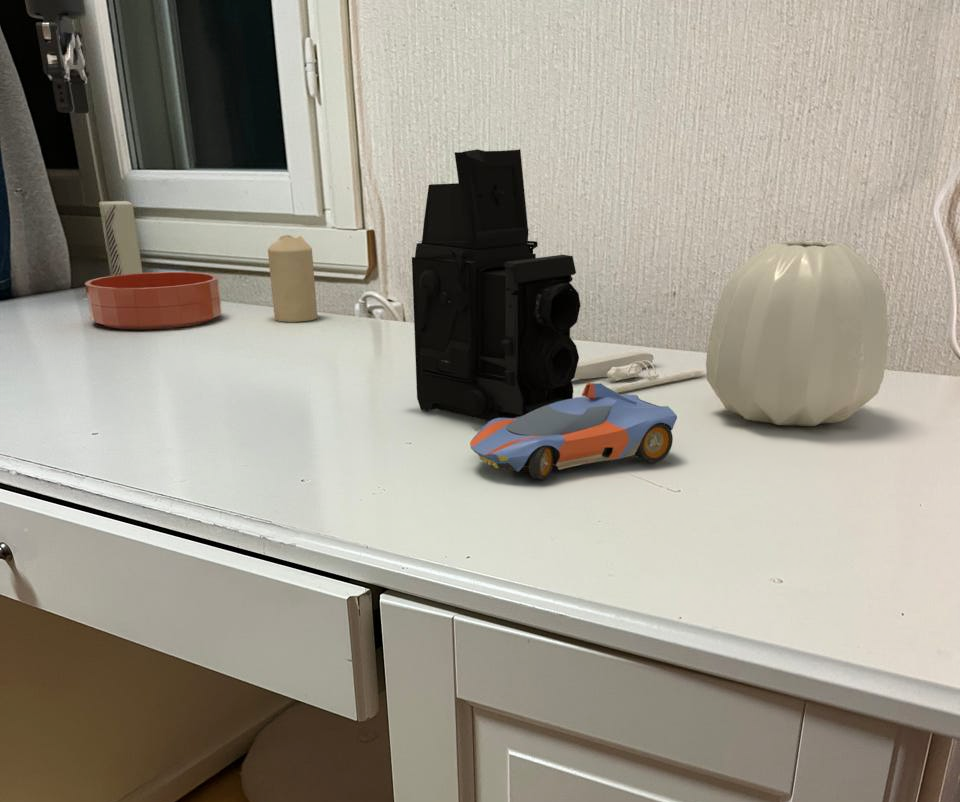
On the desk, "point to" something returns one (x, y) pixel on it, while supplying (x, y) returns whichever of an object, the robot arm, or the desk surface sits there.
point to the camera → (489, 298)
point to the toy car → (578, 433)
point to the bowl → (154, 300)
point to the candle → (292, 279)
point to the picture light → (635, 370)
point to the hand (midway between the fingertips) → (74, 112)
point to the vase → (799, 335)
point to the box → (120, 237)
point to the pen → (610, 364)
